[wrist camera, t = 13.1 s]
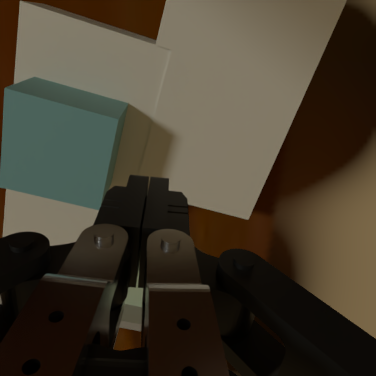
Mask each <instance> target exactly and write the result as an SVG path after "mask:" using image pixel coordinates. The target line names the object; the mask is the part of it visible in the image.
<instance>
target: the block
mask: <svg viewBox="0 0 376 376" xmlns="http://www.w3.org/2000/svg"><path fill="white" fill-rule="evenodd" d="M127 108H128V103H126V102H122V101H119V100H115V99H112V98H108V97H105V96H101V95H98V94H94V93H91V92H87V91H84V90H80V89H76V88H73V87H69V86H66V85H62V84H59V83H55V82H52V81H48V80H45V79H41V78H38V77H32V78H29V79H27V80H24V81H21V82H19V83H16V84H14V85H11V86H8V87H6V88H5V91H4V111H3V130H2V150H1V169H0V187H1V188H5V189H9V190H14V191H18V192H22V193H27V194H31V195H35V196H39V197H44V198H48V199H52V200H57V201H61V202H65V203H69V204H74V205H78V206H82V207H87V208H91V209H95V210H99V209H100V207H101V204H102V202H103V199H104V197H105V194H106V192H107V191H108V190H109V188H110V185H111V183H112V178H113V173H114V169H115V164H116V159H117V155H118V150H119V145H120V141H121V136H122V131H123V127H124V122H125V117H126V113H127Z"/></svg>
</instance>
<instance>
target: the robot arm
mask: <svg viewBox="0 0 376 376" xmlns="http://www.w3.org/2000/svg"><path fill="white" fill-rule="evenodd" d="M148 184H149V189H148ZM139 263H140V266H139ZM138 270H139V280H138V288H143V297H142V309H141V348H135V349H129V350H123V351H118V350H113V348H114V344H115V340H116V337H117V333H118V330H119V326H120V322H121V319H122V315H123V311H124V307H125V299H126V297H127V294H128V288H129V287H134V288H136V283H137V276H138ZM0 295H1V301H2V304H0V376H237V375H236V374H235V373H233V372H232V371H230V370H229V369H228V367H227V363H226V360H227V361H228V362H229V363H230V364H231V365H232V366H233V367H234V368H235V369H236V370H237V371H238V372H239V373H240V374H241V375H242V376H376V339H375V338H374V337H372V336H371V335H369V334H368V333H367V332H365V331H364V330H362V329H361V328H360V327H358V326H357V325H355V324H354V323H352V322H351V321H350V320H348V319H347V318H345V317H344V316H343V315H341V314H340V313H338V312H337V311H336V310H334V309H332V308H331V307H330V306H329V305H327V304H326V303H324V302H323V301H321V300H320V299H318V298H317V297H316V296H314V295H313V294H312V293H310V292H309V291H307V290H306V289H305V288H303V287H302V286H300V285H299V284H297V283H296V282H295V281H293V280H292V279H290V278H289V277H288V276H286V275H285V274H283V273H282V272H281V271H279V270H278V269H276V268H275V267H274V266H272V265H271V264H269V263H268V262H266V261H265V260H264V259H262V258H261V257H259V256H258V255H256V254H255V253H253V252H250V251H247V250H243V249H230V250H227V251H225V252H223V253H222V254H221V255H220V257H219V258H217V257H214V256H210V255H207V254H205V253H203V252H201V251H199V250H198V249H197V248H195V247H194V243H193V240H192V239H191V238H190V232H189V216H188V200H187V198H186V197H185V195H184V194H183V193H182V192H177V191H169V178H161V177H150V182H149V176H140V175H130V176H129V179H128V183H127V186H126V187H123V186H114V187H112V188H111V189H109V190H108V191H107V192H106V194H105V197H104V199H103V202H102V204H101V207H100V209H99V212H98V214H97V217H96V219H95V222H94V224H93V226H90V227H88V228H86V229H85V230H83V231H82V233H81V234H80V236H79V237H78V239H77V241H76V242H73V243H68V244H62V245H53V246H50V242H49V239H48V238H47V237H46V236H45V235H43V234H41V233H37V232H27V231H26V232H18V233H14V234H10V235H8V236H5V237H3V238H0ZM254 316H256V317H258V318H259V319H260V320H261V321H262V322H263V323H265V324H266V325H267V326H268V327H269V328H270V329H271V330H273V331H274V332H275V333H276V334H277V335H278V336H279V337H280V338H281V340H282V341H283V343H284V346H285V347H284V346H283V345H282V344H281V343H279V342H278V341H277V340H276V339H275V338H274V337H273V336H272V335H270V334H269V333H268V332H267V331H266V330H265V329H264V328H262V327H261V326H260V325H259V324H258V323H257V322H256V321H255V320H253V319H254Z"/></svg>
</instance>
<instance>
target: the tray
mask: <svg viewBox="0 0 376 376" xmlns="http://www.w3.org/2000/svg"><path fill="white" fill-rule="evenodd" d="M346 1H347V0H166V4H165V8H164V12H163V16H162V20H161V24H160V28H159V33H158V37H157V41H156V40H153V39H150V38H147V37H144V36H141V35H138V34H135V33H132V32H129V31H126V30H123V29H120V28H117V27H114V26H110V25H107V24H104V23H101V22H98V21H95V20H92V19H89V18H86V17H83V16H80V15H77V14H74V13H71V12H68V11H65V10H62V9H59V8H55V7H52V6H49V5H46V4H42V3H34V2H26V1H20V8H19V22H18V36H17V49H16V63H15V76H14V84H16V83H19V82H21V81H24V80H27V79H29V78H32V77H38V78H41V79H45V80H48V81H52V82H55V83H59V84H62V85H66V86H69V87H73V88H76V89H80V90H84V91H87V92H91V93H94V94H98V95H101V96H105V97H108V98H112V99H115V100H119V101H122V102H126V103H128V108H127V113H126V117H125V122H124V127H123V131H122V136H121V141H120V145H119V150H118V155H117V159H116V164H115V169H114V173H113V178H112V183H111V185H110V188H109V189H111V188H112V187H114V186H123V187H126V186H127V183H128V179H129V176H130V175H140V176H149V182H150V177H161V178H169V191H177V192H182V193H183V194H184V195H185V197H186V198H187V200H188V204H189V205H193V206H197V207H201V208H205V209H208V210H212V211H216V212H220V213H224V214H228V215H232V216H236V217H240V218H244V219H249V217H250V215H251V213H252V210H253V208H254V206H255V204H256V201H257V199H258V197H259V195H260V193H261V190H262V188H263V186H264V184H265V181H266V179H267V177H268V175H269V173H270V170H271V168H272V166H273V164H274V161H275V159H276V157H277V155H278V153H279V150H280V148H281V146H282V144H283V141H284V139H285V137H286V135H287V132H288V130H289V128H290V126H291V124H292V121H293V119H294V117H295V115H296V112H297V110H298V108H299V106H300V104H301V101H302V99H303V97H304V95H305V92H306V90H307V88H308V86H309V83H310V81H311V79H312V77H313V74H314V72H315V70H316V68H317V66H318V63H319V61H320V59H321V57H322V54H323V52H324V50H325V48H326V46H327V43H328V41H329V39H330V37H331V35H332V32H333V30H334V28H335V26H336V23H337V21H338V19H339V17H340V14H341V12H342V10H343V8H344V6H345V3H346ZM148 189H149V184H148ZM98 212H99V210H95V209H91V208H87V207H82V206H78V205H74V204H69V203H65V202H61V201H57V200H52V199H48V198H44V197H39V196H35V195H31V194H27V193H22V192H18V191H14V190H9V189H6V199H5V212H4V226H3V237H5V236H8V235H10V234H14V233H18V232H26V231H27V232H37V233H41V234H43V235H45V236H46V237H47V238H48V239H49V242H50V246H53V245H62V244H68V243H73V242H76V241H77V239H78V237H79V236H80V234H81V233H82V231H83V230H85V229H86V228H88V227H90V226H93V224H94V222H95V219H96V217H97V214H98ZM139 266H140V263H139ZM138 280H139V270H138V276H137V283H136V288H134V287H129V288H128V294H127V297H126V299H125V307H124V311H123V315H122V319H121V322H120V326H119V327H121V328H126V329H131V330H137V331H141V309H142V297H143V288H138ZM0 304H2V301H1V295H0Z"/></svg>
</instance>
